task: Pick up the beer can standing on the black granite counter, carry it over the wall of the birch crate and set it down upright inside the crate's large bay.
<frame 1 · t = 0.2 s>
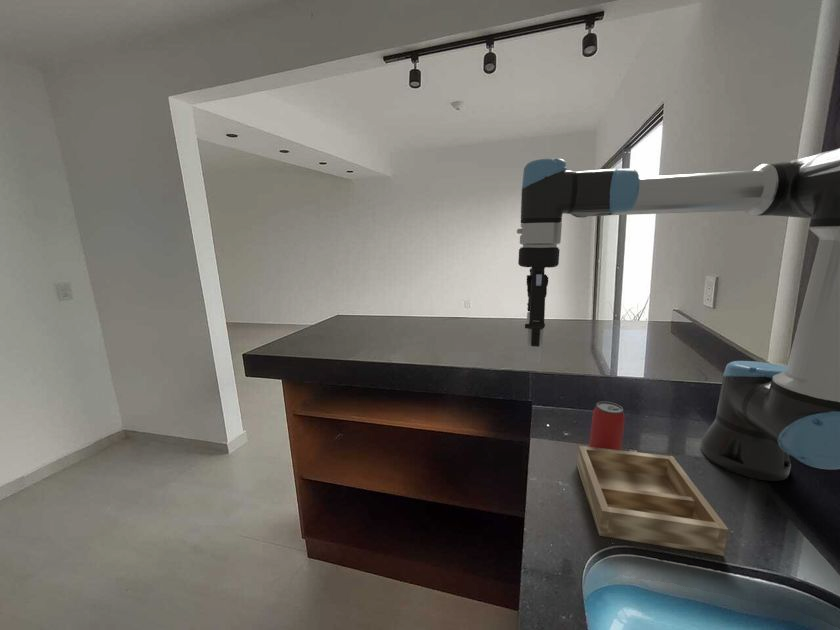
hand: (532, 350, 73), 27 cm above the worktop, fingers open, 13 cm apart
crate: (637, 503, 68), on the worktop
beer can: (604, 453, 84), on the worktop
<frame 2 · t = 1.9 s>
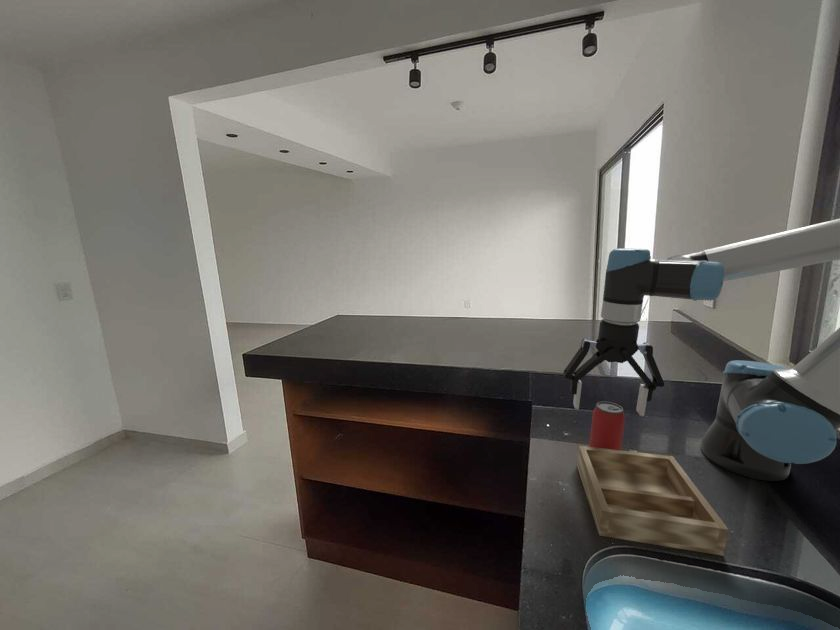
hand: (607, 410, 82), 11 cm above the worktop, fingers open, 13 cm apart
nothing on the worktop moved.
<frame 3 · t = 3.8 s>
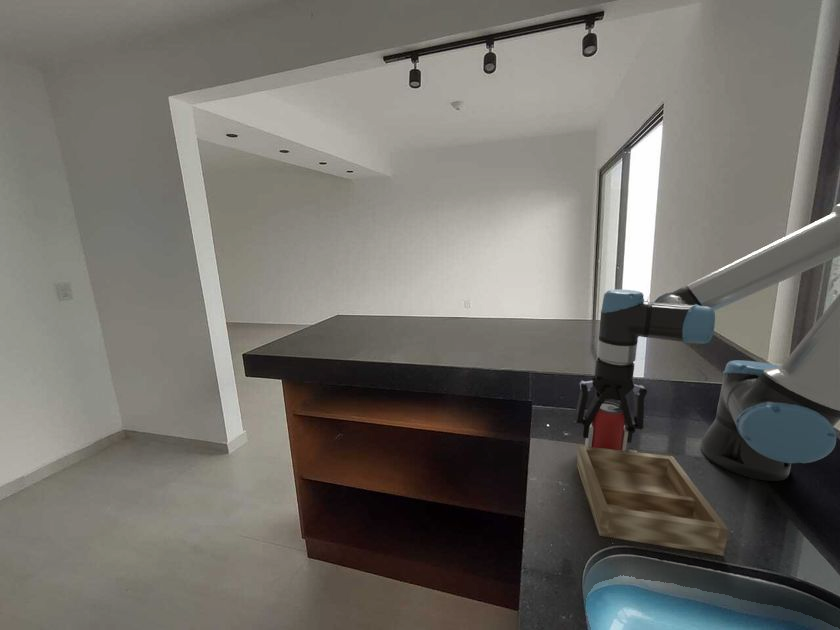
hand: (604, 451, 84), 0 cm above the worktop, fingers closed on beer can, 7 cm apart
beer can: (604, 453, 84), on the worktop, touching gripper
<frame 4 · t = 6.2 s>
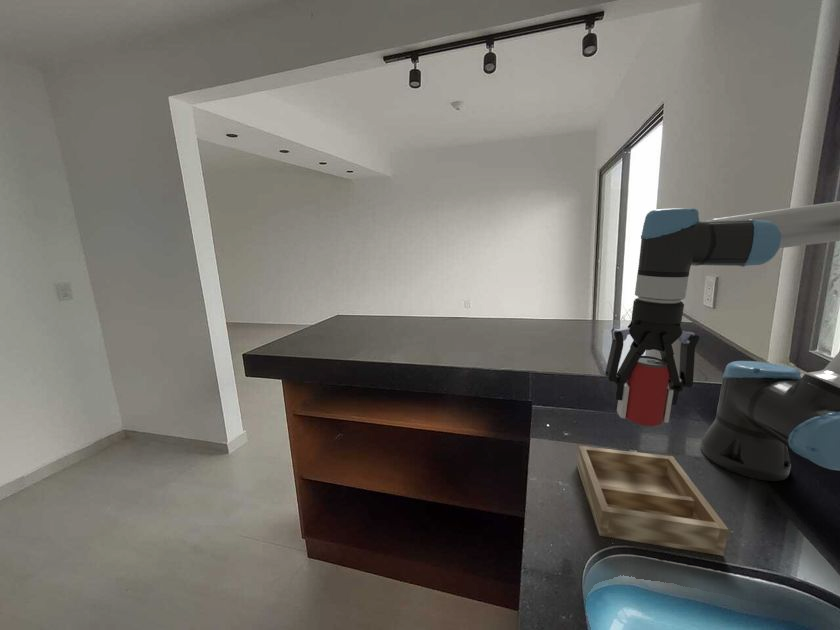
hand: (641, 416, 68), 16 cm above the worktop, fingers closed on beer can, 7 cm apart
beer can: (641, 420, 68), point 16 cm above the worktop, touching gripper
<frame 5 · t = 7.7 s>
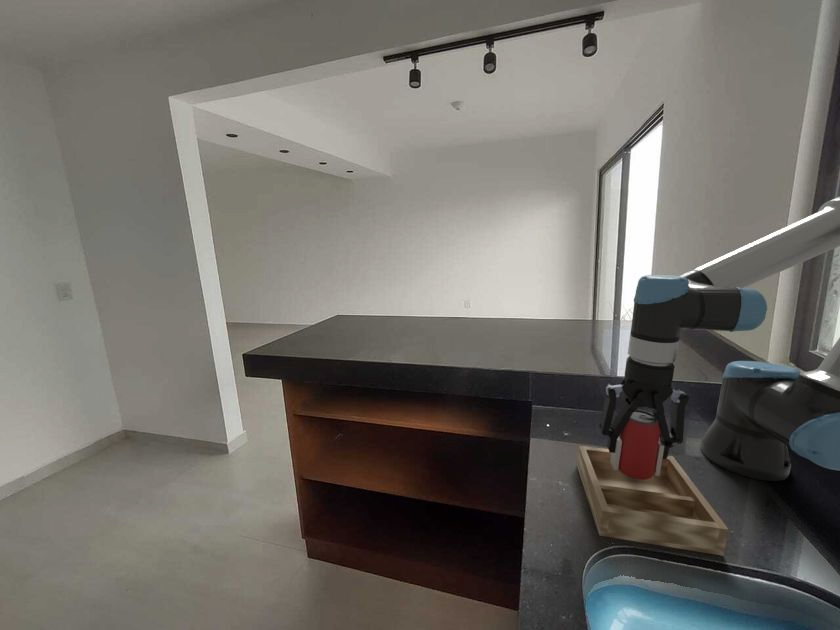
hand: (633, 468, 70), 5 cm above the worktop, fingers closed on beer can, 7 cm apart
beer can: (633, 471, 71), point 4 cm above the worktop, touching gripper
when the fingers open (3 cm above the worktop, at t = 8.9 s): beer can drops 1 cm, resting on crate.
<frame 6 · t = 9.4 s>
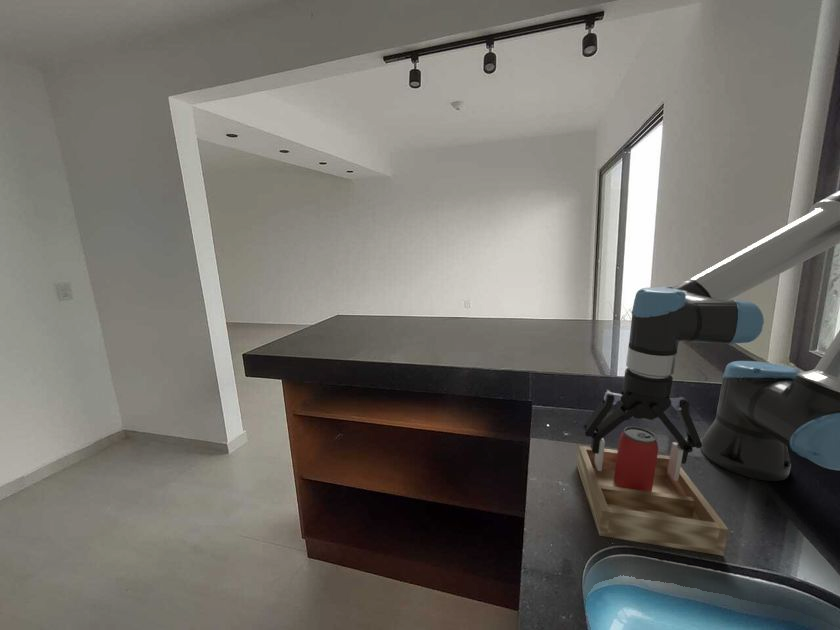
hand: (634, 471, 71), 4 cm above the worktop, fingers open, 13 cm apart
beer can: (632, 488, 71), point 1 cm above the worktop, touching crate
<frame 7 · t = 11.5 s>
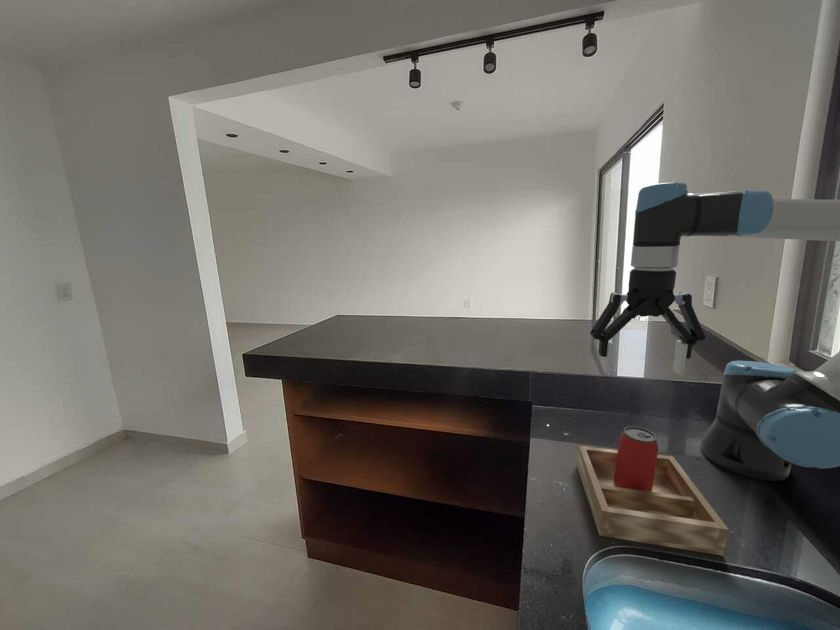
hand: (641, 372, 73), 23 cm above the worktop, fingers open, 13 cm apart
nothing on the worktop moved.
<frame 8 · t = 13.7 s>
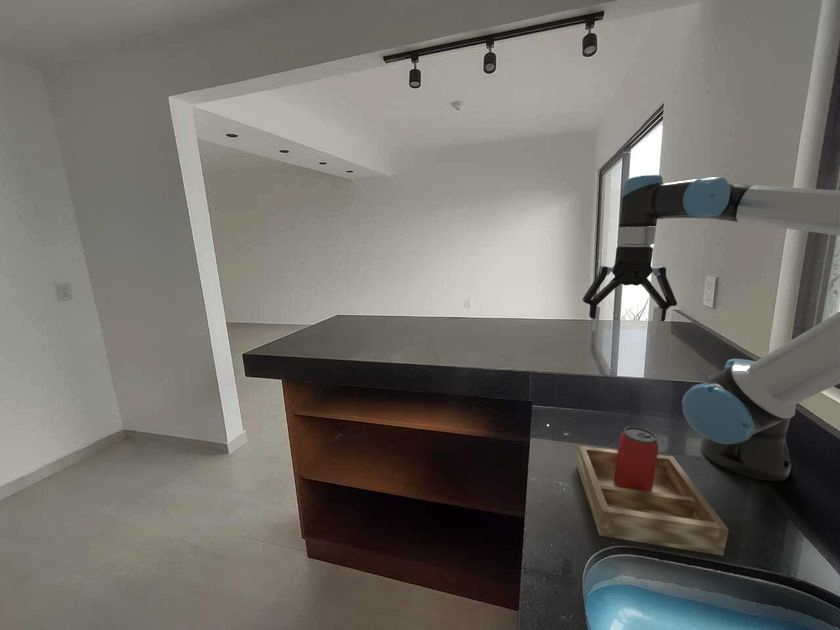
hand: (624, 332, 88), 27 cm above the worktop, fingers open, 13 cm apart
nothing on the worktop moved.
at the end: beer can inside the target area on the crate (0.0 cm from its centre), point 0.6 cm above the crate's base; beer can tilted 0°; the gripper is holding nothing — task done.
